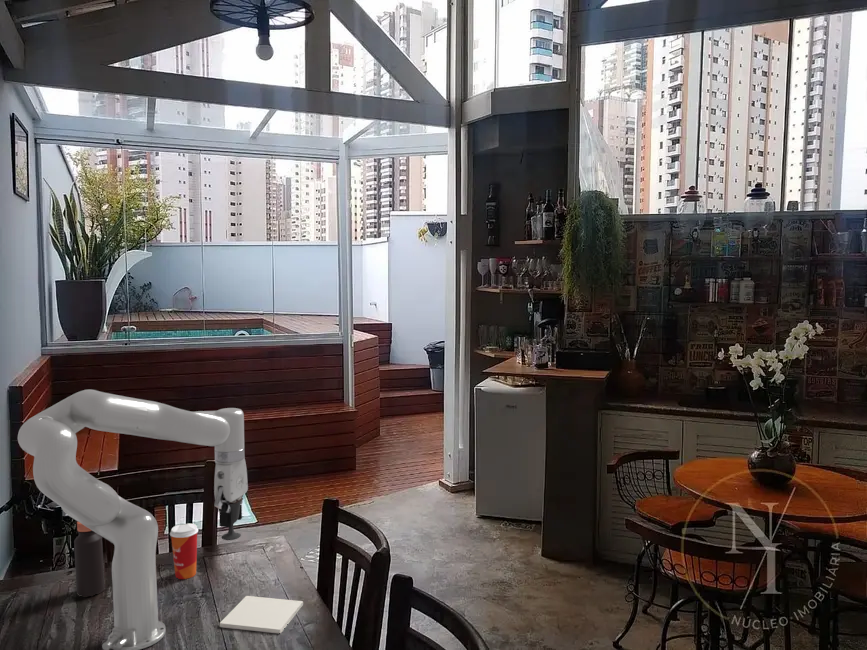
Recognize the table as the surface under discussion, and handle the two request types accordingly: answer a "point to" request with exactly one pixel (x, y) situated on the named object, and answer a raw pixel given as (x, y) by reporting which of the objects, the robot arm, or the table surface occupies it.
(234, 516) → the sundae
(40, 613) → the table surface
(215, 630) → the table surface
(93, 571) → the bottle
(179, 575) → the paper cup
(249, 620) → the board
